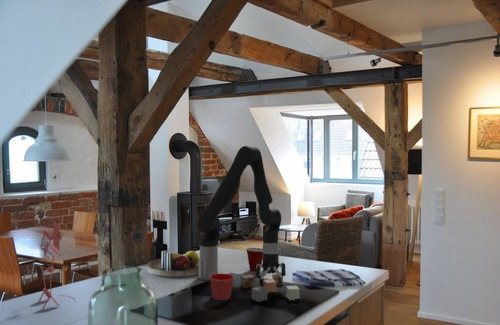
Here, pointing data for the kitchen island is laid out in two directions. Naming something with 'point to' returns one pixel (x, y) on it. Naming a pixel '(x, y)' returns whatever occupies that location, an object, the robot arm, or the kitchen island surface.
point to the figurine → (56, 238)
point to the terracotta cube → (270, 285)
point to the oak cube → (276, 277)
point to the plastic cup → (254, 257)
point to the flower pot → (221, 286)
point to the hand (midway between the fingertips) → (270, 285)
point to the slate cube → (259, 293)
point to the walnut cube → (247, 281)
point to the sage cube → (292, 292)
